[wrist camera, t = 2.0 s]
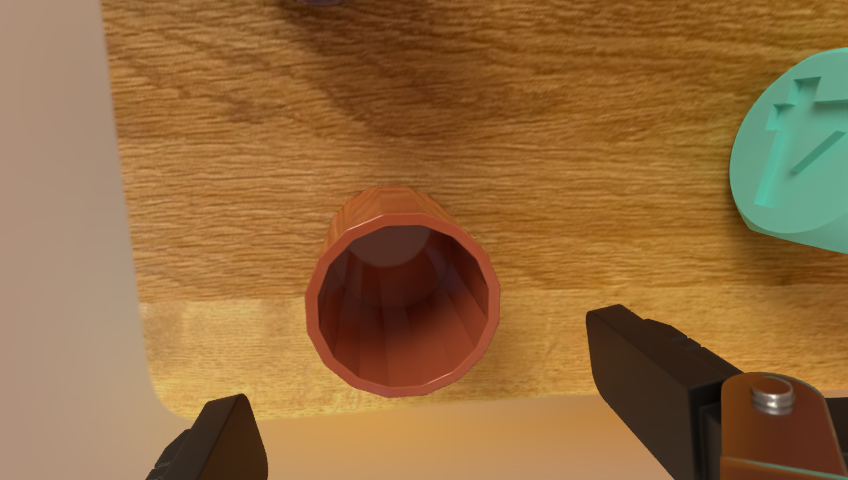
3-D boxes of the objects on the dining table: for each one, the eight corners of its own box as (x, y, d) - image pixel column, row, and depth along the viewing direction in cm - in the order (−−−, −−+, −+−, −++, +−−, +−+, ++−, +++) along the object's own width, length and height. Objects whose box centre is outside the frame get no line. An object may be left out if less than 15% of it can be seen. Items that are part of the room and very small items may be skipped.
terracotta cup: (297, 253, 23) (262, 316, 15) (390, 156, 22) (402, 170, 15) (393, 335, 24) (407, 431, 17) (482, 246, 24) (538, 302, 16)
